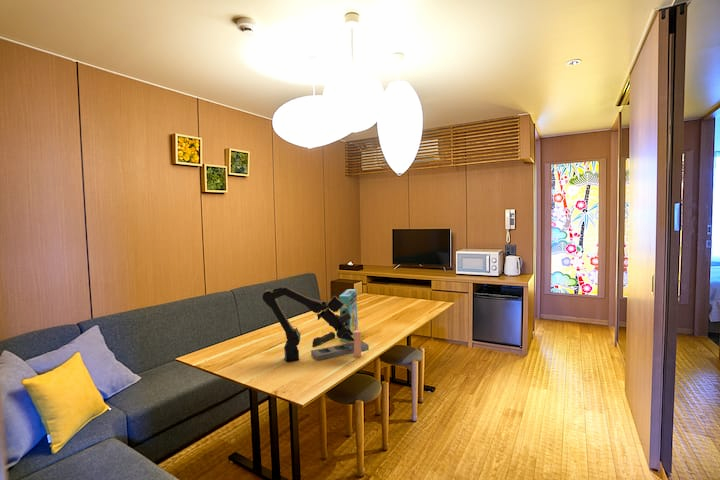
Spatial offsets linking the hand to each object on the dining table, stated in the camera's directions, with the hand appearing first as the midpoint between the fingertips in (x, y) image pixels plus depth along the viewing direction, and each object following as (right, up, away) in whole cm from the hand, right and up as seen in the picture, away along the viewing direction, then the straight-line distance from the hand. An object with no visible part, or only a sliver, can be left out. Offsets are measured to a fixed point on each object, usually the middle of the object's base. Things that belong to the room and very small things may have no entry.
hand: (353, 337), depth 198 cm
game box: (-3, -8, +33) cm, 34 cm away
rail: (-7, -9, +6) cm, 13 cm away
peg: (+2, -10, +1) cm, 10 cm away
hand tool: (-18, -9, +23) cm, 30 cm away
